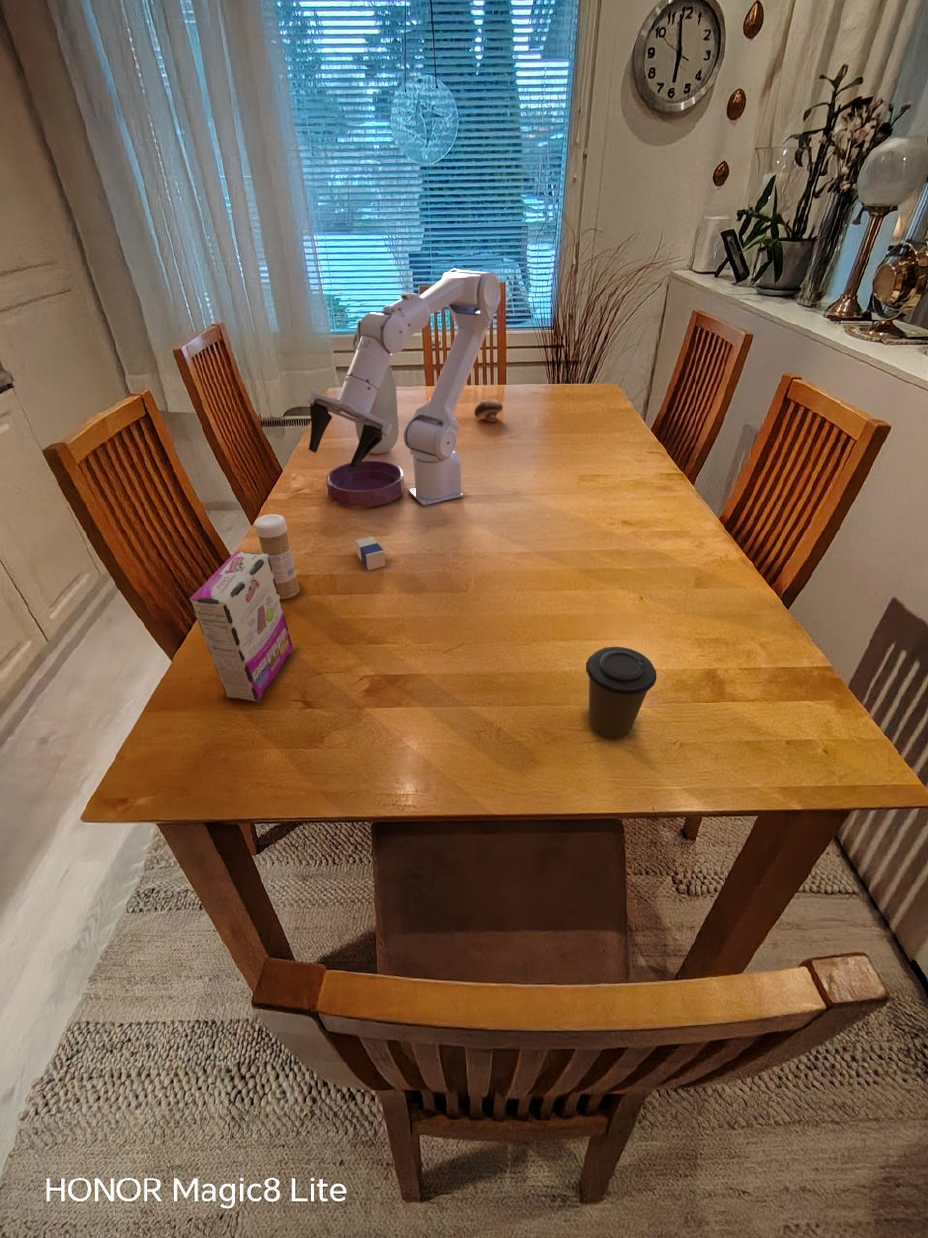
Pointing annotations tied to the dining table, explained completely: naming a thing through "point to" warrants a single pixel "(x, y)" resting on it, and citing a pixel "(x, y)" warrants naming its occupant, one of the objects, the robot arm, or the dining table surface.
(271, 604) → the candy bar box
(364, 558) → the eraser
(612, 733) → the coffee cup
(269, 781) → the dining table surface
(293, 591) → the sprinkles bottle
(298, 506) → the dining table surface
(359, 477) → the bowl
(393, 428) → the white tall rounded piece
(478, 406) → the mushroom
